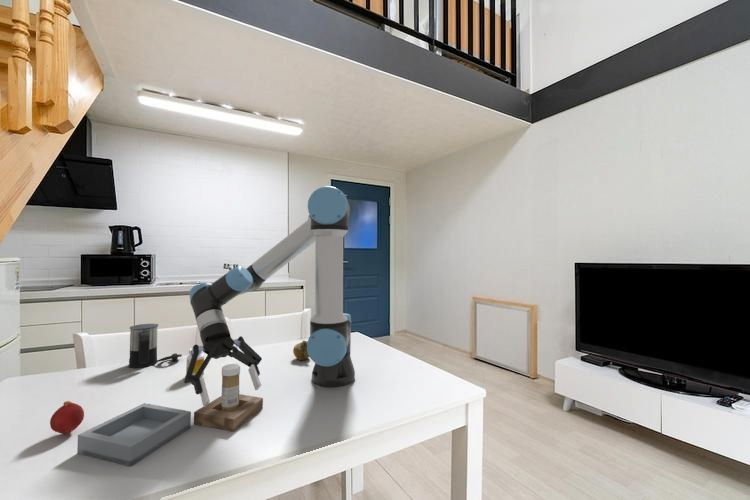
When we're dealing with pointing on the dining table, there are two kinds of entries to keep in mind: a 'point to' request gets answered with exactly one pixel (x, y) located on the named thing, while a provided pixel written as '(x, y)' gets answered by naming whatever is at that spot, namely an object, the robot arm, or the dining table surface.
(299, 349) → the onion
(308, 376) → the dining table surface
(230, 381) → the sprinkles bottle
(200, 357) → the supplement bottle
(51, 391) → the dining table surface
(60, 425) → the onion
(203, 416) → the walnut holder
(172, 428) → the grey tray
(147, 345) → the milk frother
